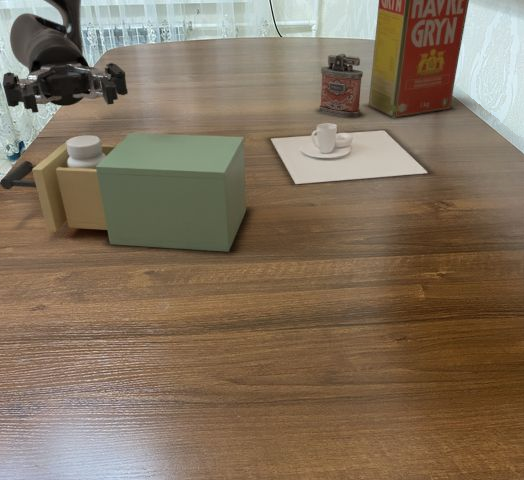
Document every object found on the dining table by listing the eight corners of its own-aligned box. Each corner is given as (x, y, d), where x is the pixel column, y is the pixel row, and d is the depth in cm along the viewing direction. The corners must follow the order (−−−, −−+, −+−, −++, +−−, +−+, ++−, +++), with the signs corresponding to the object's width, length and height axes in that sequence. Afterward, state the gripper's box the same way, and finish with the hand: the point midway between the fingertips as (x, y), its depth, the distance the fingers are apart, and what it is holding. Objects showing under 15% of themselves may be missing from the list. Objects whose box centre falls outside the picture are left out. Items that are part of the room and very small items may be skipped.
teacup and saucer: (347, 141, 101) (349, 116, 98) (361, 158, 94) (364, 131, 92) (295, 145, 100) (296, 120, 97) (306, 162, 93) (307, 135, 91)
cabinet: (109, 244, 73) (95, 166, 67) (140, 204, 82) (129, 132, 76) (228, 251, 71) (224, 172, 65) (246, 210, 80) (243, 137, 74)
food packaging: (393, 119, 110) (412, -45, 95) (366, 105, 117) (379, -50, 102) (453, 109, 114) (480, -50, 99) (423, 96, 121) (444, -54, 106)
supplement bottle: (87, 198, 79) (73, 132, 74) (121, 200, 78) (110, 134, 73) (70, 213, 75) (55, 146, 70) (106, 216, 75) (93, 148, 69)
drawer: (2, 228, 75) (-17, 166, 70) (39, 194, 83) (25, 137, 78) (154, 238, 72) (145, 174, 68) (177, 202, 80) (171, 143, 76)
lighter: (315, 111, 114) (318, 54, 108) (325, 107, 116) (327, 50, 110) (354, 118, 111) (358, 59, 104) (362, 114, 113) (367, 55, 107)
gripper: (-6, 42, 77) (-3, 70, 65) (106, 33, 81) (129, 58, 69) (9, 103, 82) (15, 140, 70) (115, 92, 86) (138, 125, 74)
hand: (72, 99), depth 69 cm, fingers open, 8 cm apart
